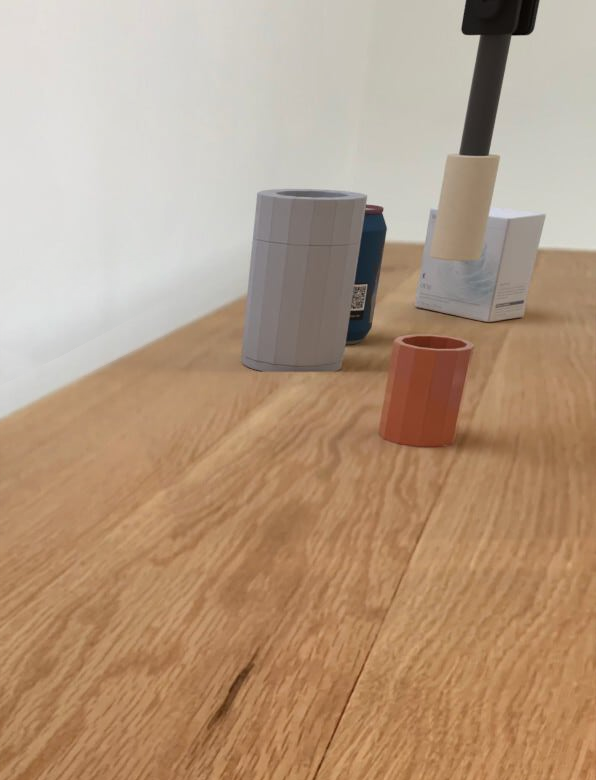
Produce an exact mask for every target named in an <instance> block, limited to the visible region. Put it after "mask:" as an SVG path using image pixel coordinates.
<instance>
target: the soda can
mask: <svg viewBox="0 0 596 780" xmlns="http://www.w3.org/2000/svg"><path fill="white" fill-rule="evenodd" d="M384 208H385V207H384V206H381V205H375V204H367V203H366V208H365V215H364V222H363V229H362V235H361V240H360V241H361V242H360V249H359V256H358V263H357V269H356V276H355V283H354V290H353V297H352V303H351V310H350V317H349V324H348V331H347V338H346V344H345V345H356V344H360V343H361V342H363V340H364V339H365V338H366V336H367V335H368V334H369V332H370V331H371V329H372V327H373V321H374V314H375V307H376V302H377V295H378V289H379V284H380V283H379V282H380V276H381V269H382V263H383V257H384V250H385V245H386V244H385V243H386V238H387V231H388V227H387V224H386V220H385V216H384ZM359 342H360V343H359Z"/></svg>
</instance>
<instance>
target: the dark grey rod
mask: <svg viewBox="0 0 596 780" xmlns="http://www.w3.org/2000/svg"><path fill="white" fill-rule="evenodd" d="M512 37H513V36H512V34H508V35H479V39H478V46H477V51H476V56H475V62H474V67H473V73H472V79H471V83H470V84H471V85H470V90H469V96H468V101H467V107H466V113H465V118H464V123H463V130H462V133H461V140H460V147H459V150H458V151H459V152H458V153H448V154H447V155H446V160H445V166H444V171H443V177H442V183H441V188H440V194H439V199H438V201H439V202H438V206H437V207H438V211H437V217H436V222H435V228H434V234H433V240H432V245H431V251H430V256H431V257H433V258H437V259H444V260H457V261H469V260H477V259H480V257H481V252H482V247H483V242H484V237H485V232H486V227H487V221H488V216H489V211H490V206H491V205H492V200H493V196H494V191H495V187H496V181H497V174H498V171H499V165H500V161H501V156H500V155H499V154H492V153H491V154H490V152H491V151H490V150H491V146H492V140H493V136H494V129H495V124H496V119H497V114H498V110H499V103H500V98H501V93H502V88H503V83H504V78H505V72H506V68H507V62H508V56H509V53H510V46H511V42H512ZM491 207H492V206H491Z"/></svg>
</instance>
